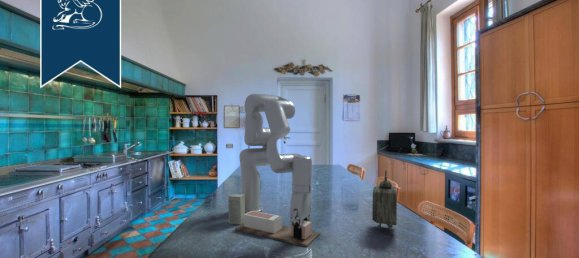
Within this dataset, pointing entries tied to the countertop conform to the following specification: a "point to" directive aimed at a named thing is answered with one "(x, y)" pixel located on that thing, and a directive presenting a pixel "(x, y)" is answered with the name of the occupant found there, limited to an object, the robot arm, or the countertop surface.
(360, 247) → the countertop surface
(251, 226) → the white box with vents
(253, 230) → the board
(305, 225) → the stub
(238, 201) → the skincare box
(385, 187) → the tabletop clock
